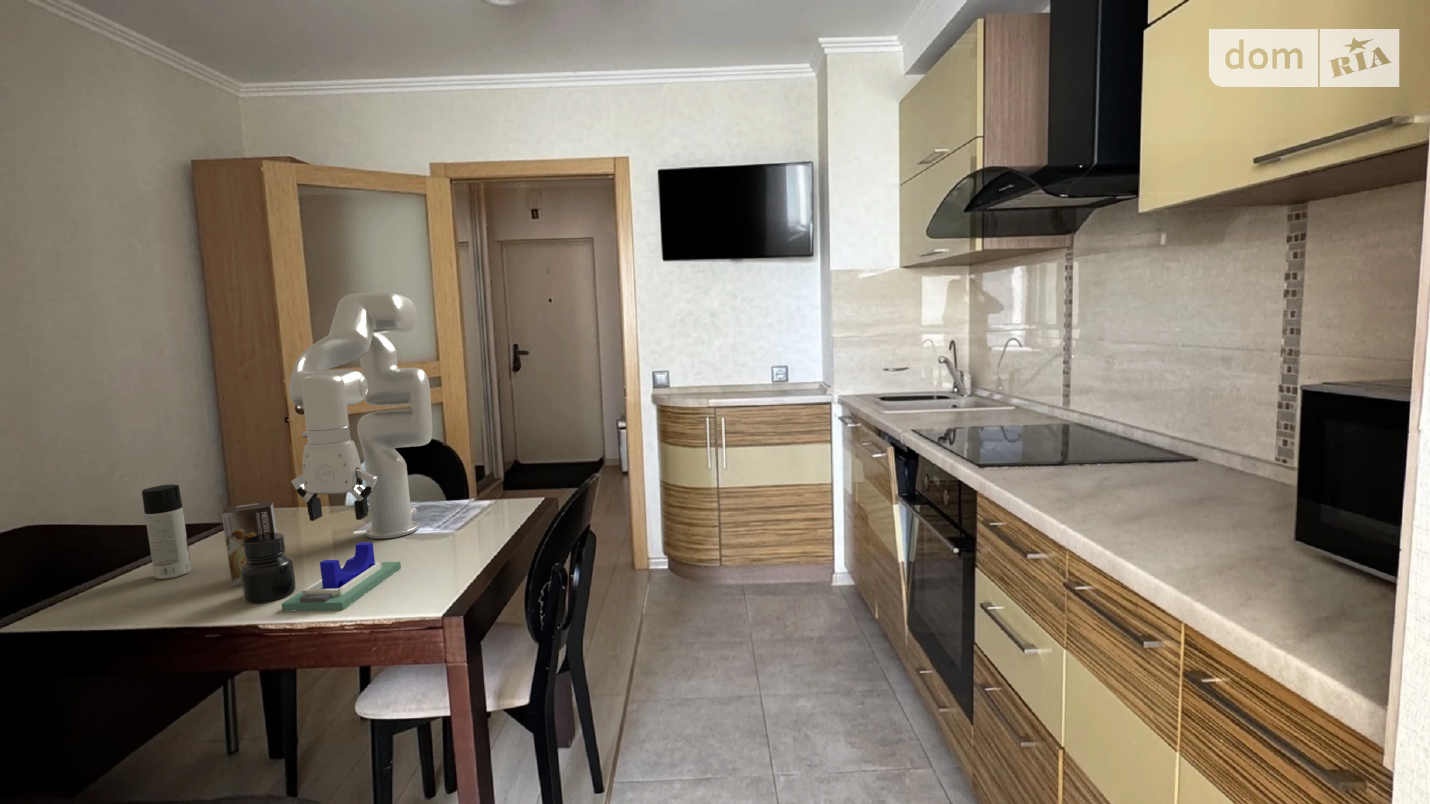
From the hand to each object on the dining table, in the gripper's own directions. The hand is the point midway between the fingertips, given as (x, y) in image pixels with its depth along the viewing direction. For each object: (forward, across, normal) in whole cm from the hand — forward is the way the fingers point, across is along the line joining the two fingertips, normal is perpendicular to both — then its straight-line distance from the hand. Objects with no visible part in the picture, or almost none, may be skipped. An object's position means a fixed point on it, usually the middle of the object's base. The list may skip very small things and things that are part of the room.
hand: (339, 518), depth 143 cm
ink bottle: (+15, -14, -4) cm, 21 cm away
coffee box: (+15, -24, +6) cm, 29 cm away
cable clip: (+13, 0, 0) cm, 13 cm away
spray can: (+15, -46, +9) cm, 49 cm away
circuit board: (+15, 0, -1) cm, 15 cm away
